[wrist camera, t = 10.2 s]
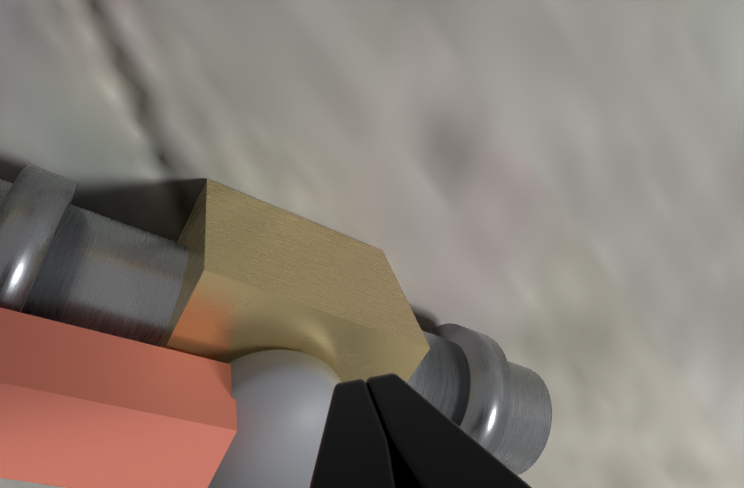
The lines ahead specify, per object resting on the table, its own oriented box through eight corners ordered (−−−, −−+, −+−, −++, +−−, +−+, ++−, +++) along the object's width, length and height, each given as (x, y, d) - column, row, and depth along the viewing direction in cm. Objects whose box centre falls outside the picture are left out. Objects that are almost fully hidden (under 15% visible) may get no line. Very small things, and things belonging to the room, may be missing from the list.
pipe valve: (527, 310, 24) (603, 408, 19) (442, 426, 26) (491, 541, 21) (-43, 75, 16) (-152, 146, 11) (-103, 272, 18) (-216, 401, 13)
